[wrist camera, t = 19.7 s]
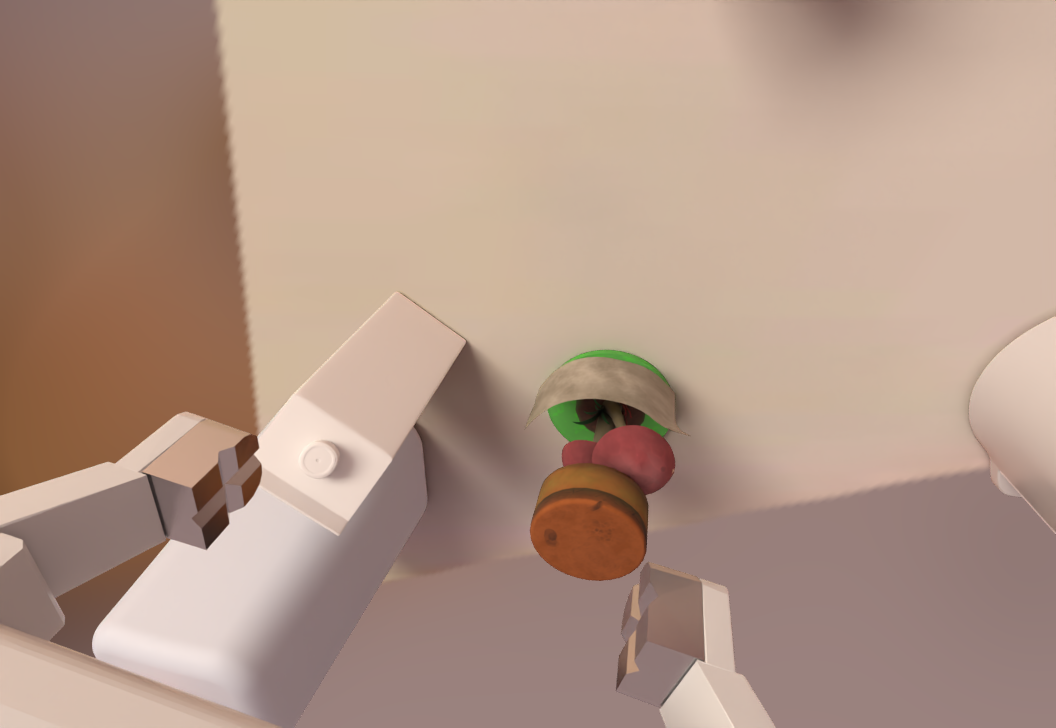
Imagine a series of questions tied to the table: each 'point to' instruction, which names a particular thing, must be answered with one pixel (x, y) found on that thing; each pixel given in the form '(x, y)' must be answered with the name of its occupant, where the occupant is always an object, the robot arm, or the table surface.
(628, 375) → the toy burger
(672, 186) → the table surface
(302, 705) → the plastic bottle
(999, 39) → the table surface
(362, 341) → the milk carton
